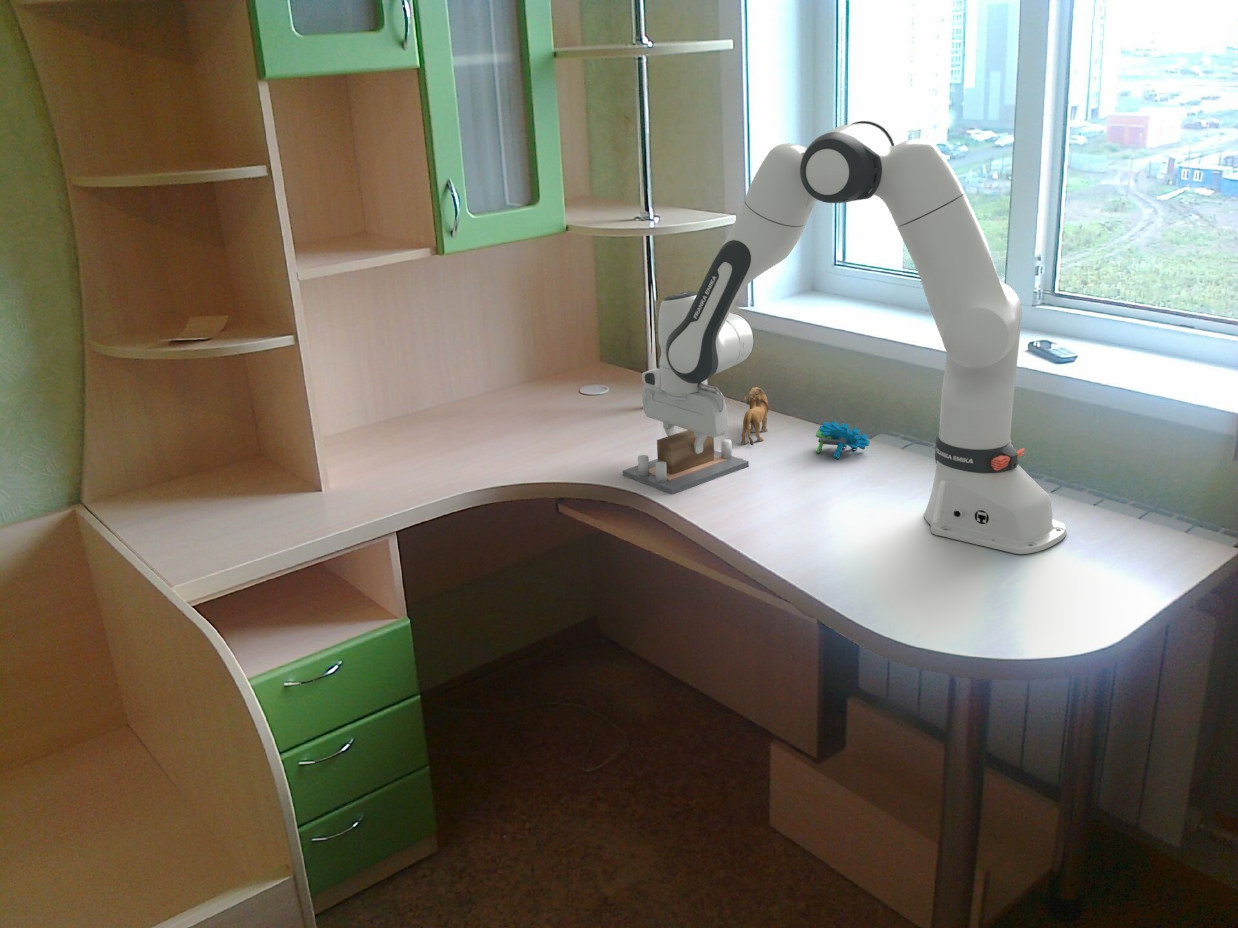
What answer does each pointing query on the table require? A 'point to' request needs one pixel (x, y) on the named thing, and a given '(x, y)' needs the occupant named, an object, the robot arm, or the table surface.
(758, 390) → the lion figurine
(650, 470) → the cradle
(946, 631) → the table surface
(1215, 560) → the table surface
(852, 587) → the table surface
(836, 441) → the blue spiky animal toy
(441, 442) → the table surface
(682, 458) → the block
